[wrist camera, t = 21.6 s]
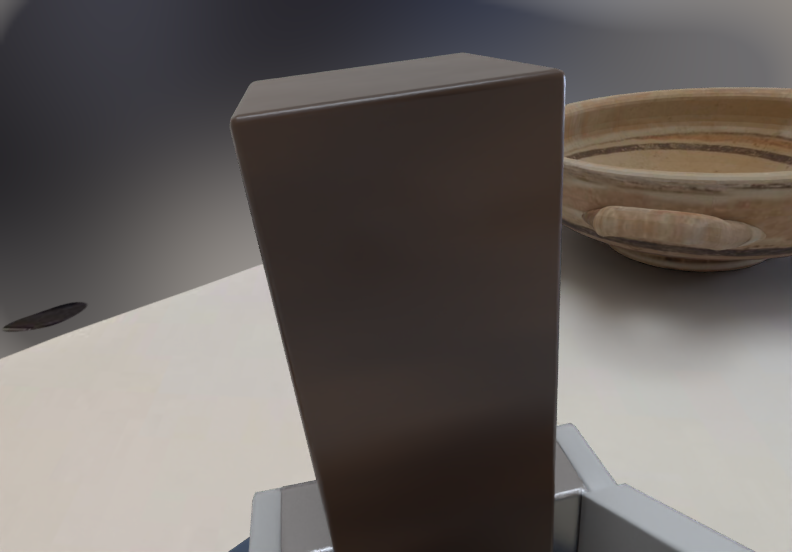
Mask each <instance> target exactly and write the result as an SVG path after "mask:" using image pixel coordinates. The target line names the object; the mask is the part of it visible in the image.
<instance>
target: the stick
mask: <svg viewBox="0 0 792 552" xmlns="http://www.w3.org/2000/svg"><path fill="white" fill-rule="evenodd" d="M565 84H566V78H565V74H564V72H563V71H562V70H559V69H555V68H550V67H544V66H537V65H532V64H526V63H521V62H514V61H509V60H503V59H497V58H492V57H485V56H480V55H474V54H468V53H457V54H450V55H443V56H435V57H428V58H421V59H414V60H406V61H400V62H392V63H385V64H378V65H370V66H363V67H356V68H349V69H341V70H334V71H326V72H320V73H312V74H305V75H297V76H290V77H283V78H276V79H268V80H261V81H254V82H253V83H251V84H250V85H249V87H248V89H247V91H246V92H245V94H244V96H243V98H242V100H241V101H240V103H239V105H238V107H237V109H236V110H235V112H234V114H233V116H232V117H231V120H230V131H231V135H232V139H233V143H234V147H235V151H236V155H237V160H238V164H239V168H240V171H241V176H242V179H243V184H244V188H245V192H246V196H247V200H248V204H249V208H250V212H251V216H252V220H253V225H254V229H255V233H256V237H257V241H258V245H259V249H260V253H261V257H262V261H263V265H264V269H265V273H266V277H267V282H268V286H269V290H270V294H271V298H272V302H273V306H274V310H275V314H276V318H277V322H278V326H279V330H280V334H281V338H282V343H283V347H284V351H285V355H286V359H287V363H288V367H289V371H290V375H291V379H292V383H293V387H294V391H295V395H296V400H297V404H298V408H299V412H300V416H301V420H302V424H303V428H304V432H305V436H306V440H307V444H308V448H309V452H310V456H311V461H312V465H313V469H314V473H315V477H316V481H317V485H318V489H319V493H320V497H321V501H322V505H323V509H324V513H325V517H326V522H327V526H328V530H329V534H330V538H331V542H332V546H333V550H334V552H553V538H554V500H555V462H556V425H557V387H558V349H559V311H560V273H561V236H562V198H563V160H564V122H565Z"/></svg>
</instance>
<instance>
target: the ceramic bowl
mask: <svg viewBox="0 0 792 552" xmlns="http://www.w3.org/2000/svg"><path fill="white" fill-rule="evenodd" d="M562 224H563V225H564V226H566V227H568V228H570V229H572V230H574V231H576V232H578V233H580V234H583V235H585V236H587V237H590V238H592V239H595V240H598V241H601V242H604V243H606V244H608V245H609V246H610V247H611V248H612V249H614V250H615V251H617V252H618V253H620V254H622V255H624V256H626V257H628V258H630V259H633V260H635V261H638V262H641V263H645V264H648V265H652V266H656V267H662V268H667V269H673V270H682V271H698V272H714V271H728V270H736V269H741V268H746V267H750V266H753V265H756V264H759V263H761V262H763V261H765V260H766V259H769V258H778V257H787V256H792V89H789V88H756V87H739V88H738V87H721V88H691V89H675V90H661V91H648V92H639V93H630V94H621V95H614V96H607V97H601V98H595V99H589V100H585V101H580V102H575V103H571V104H567V105H565V122H564V160H563V198H562Z"/></svg>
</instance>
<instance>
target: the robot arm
mask: <svg viewBox="0 0 792 552" xmlns="http://www.w3.org/2000/svg"><path fill="white" fill-rule="evenodd" d="M249 552H334V550H333V546H332V542H331V538H330V534H329V530H328V526H327V522H326V517H325V513H324V509H323V505H322V501H321V497H320V493H319V489H318V485H317V481H316V480H314V481H309V482H304V483H299V484H294V485H289V486H283V487H281V488H276V489H271V490H266V491H261V492H256V493H255V494H254V497H253V500H252V513H251V527H250V541H249ZM553 552H755V551H753V550H751V549H749V548H747V547H745V546H743V545H742V544H740V543H738V542H736V541H734V540H732V539H730V538H728V537H726V536H724V535H723V534H721V533H719V532H717V531H715V530H713V529H711V528H709V527H707V526H705V525H703V524H702V523H700V522H698V521H696V520H694V519H692V518H690V517H688V516H686V515H684V514H683V513H681V512H679V511H677V510H675V509H673V508H671V507H669V506H667V505H665V504H664V503H662V502H660V501H658V500H656V499H654V498H652V497H650V496H648V495H646V494H645V493H643V492H641V491H639V490H637V489H635V488H633V487H631V486H629V485H627V484H626V483H625V484H620V485H617V483H616V482H615V480H614V479H613V478H612V476H611V475H610V473H609V472H608V471H607V469H606V468H605V466H604V465H603V464H602V462H601V461H600V460H599V458H598V457H597V455H596V454H595V453H594V451H593V450H592V448H591V447H590V446H589V444H588V443H587V441H586V440H585V439H584V437H583V436H582V435H581V433H580V432H579V430H578V429H577V428H576V426H575V425H573V424H571V423H568V424H563V425H559V426H556V462H555V500H554V538H553Z"/></svg>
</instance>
